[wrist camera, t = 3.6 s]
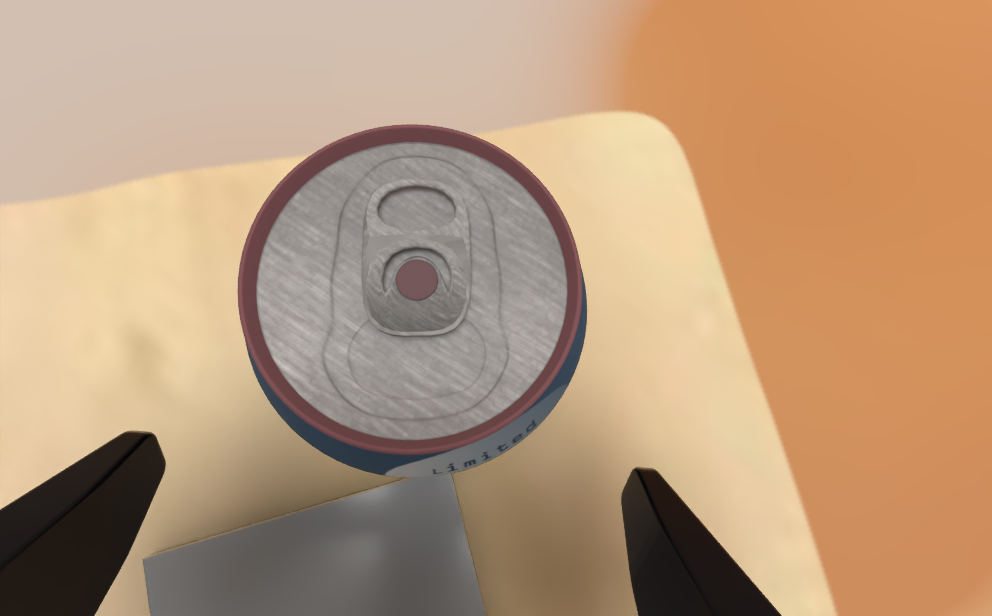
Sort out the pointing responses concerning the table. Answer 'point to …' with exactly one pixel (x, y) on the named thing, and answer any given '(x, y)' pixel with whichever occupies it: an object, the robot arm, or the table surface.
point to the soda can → (412, 301)
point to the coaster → (330, 560)
